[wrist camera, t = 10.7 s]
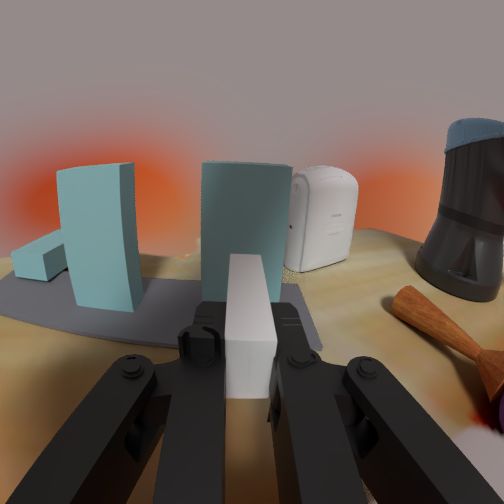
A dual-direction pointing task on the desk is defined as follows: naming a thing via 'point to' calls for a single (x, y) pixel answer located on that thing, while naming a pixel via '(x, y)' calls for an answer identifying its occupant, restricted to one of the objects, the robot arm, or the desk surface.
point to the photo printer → (320, 217)
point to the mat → (119, 322)
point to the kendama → (452, 339)
